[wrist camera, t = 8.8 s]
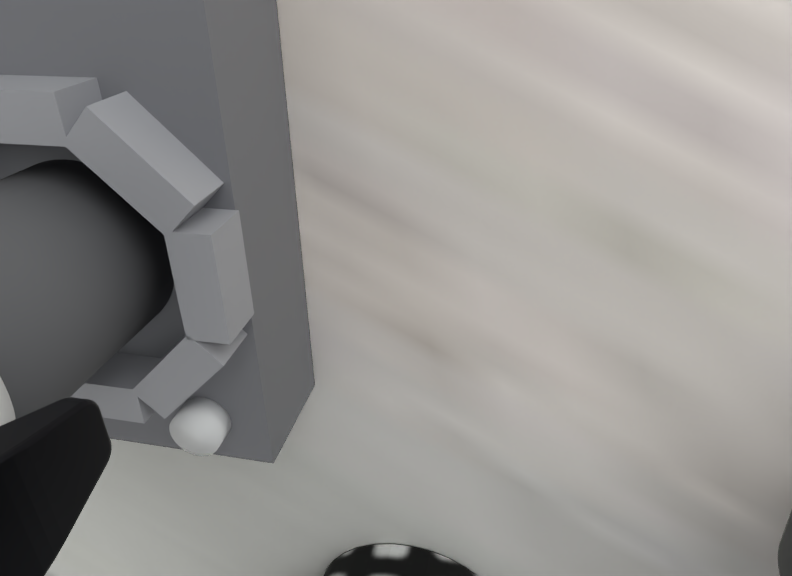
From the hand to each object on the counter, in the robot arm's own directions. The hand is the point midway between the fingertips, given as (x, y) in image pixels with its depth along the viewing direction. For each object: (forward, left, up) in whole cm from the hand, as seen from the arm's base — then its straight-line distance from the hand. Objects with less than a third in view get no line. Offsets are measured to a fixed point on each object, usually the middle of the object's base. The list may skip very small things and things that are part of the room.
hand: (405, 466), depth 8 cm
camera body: (+10, +1, -12) cm, 16 cm away
